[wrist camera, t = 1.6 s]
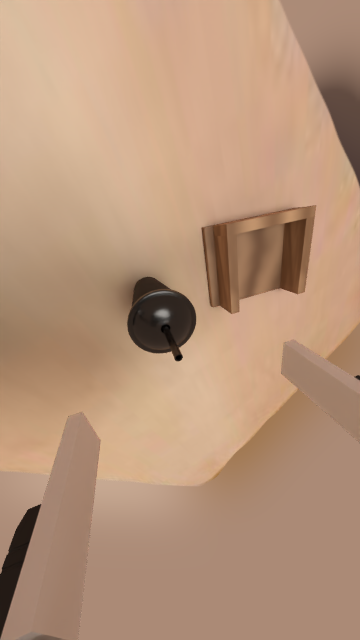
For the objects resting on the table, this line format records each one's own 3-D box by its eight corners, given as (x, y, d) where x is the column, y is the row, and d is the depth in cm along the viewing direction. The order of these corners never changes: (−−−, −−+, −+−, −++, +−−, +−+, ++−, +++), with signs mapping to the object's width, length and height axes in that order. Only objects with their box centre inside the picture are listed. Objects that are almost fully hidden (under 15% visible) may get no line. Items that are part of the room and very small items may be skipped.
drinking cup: (174, 304, 35) (225, 377, 17) (133, 316, 34) (145, 406, 16) (164, 263, 31) (217, 301, 14) (119, 274, 30) (114, 331, 13)
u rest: (210, 305, 37) (223, 316, 32) (201, 227, 31) (216, 226, 26) (288, 283, 40) (311, 290, 35) (295, 207, 34) (324, 203, 29)
